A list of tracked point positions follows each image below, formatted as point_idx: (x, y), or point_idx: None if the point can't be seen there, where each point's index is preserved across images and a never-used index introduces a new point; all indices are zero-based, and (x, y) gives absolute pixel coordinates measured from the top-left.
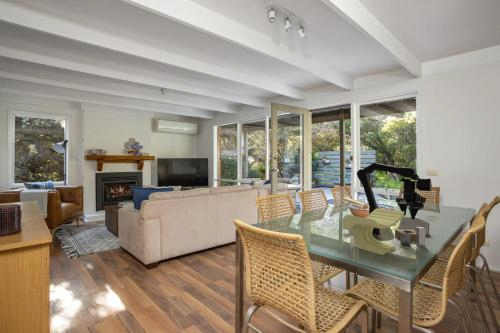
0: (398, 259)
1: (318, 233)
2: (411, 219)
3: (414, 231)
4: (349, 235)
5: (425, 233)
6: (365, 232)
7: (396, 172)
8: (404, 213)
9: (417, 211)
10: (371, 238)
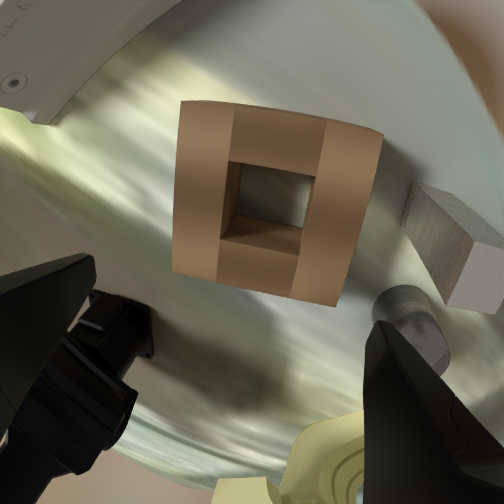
0: (492, 416)
1: (178, 469)
2: (4, 33)
3: (260, 135)
4: (194, 429)
5: None
6: (344, 499)
7: None
8: (71, 291)
9: (495, 445)
10: (342, 459)
